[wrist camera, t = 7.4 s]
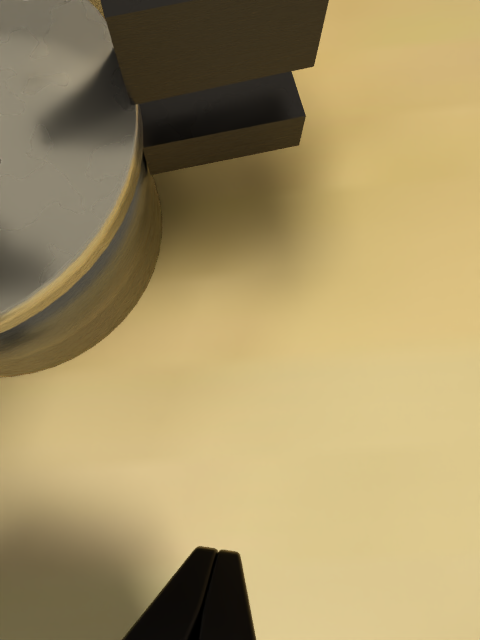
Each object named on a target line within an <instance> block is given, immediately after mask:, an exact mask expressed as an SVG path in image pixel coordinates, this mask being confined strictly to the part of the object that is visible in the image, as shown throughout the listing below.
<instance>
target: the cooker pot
mask: <svg viewBox="0 0 480 640" xmlns="http://www.w3.org/2000/svg"><path fill="white" fill-rule="evenodd" d="M139 106H140V111H141V117H142V123H143V155H142V163H141V171H140V175H139V179H138V182H137V186H136V190H135V193H134V197H133V199H132V202H131V204H130V206H129V209H128V211H127V213H126V215H125V218H124V220H123V222H122V224H121V226H120V227H119V229H118V231H117V232H116V234H115V236H114V237H113V239H112V240H111V242H110V244H109V245H108V247H107V248H106V249H105V251H104V252H103V253H102V254H101V256H100V257H99V258H98V259H97V261H96V262H95V263H94V265H93V266H92V267H91V268H90V270H89V271H87V272H86V273H85V274H84V275H83V276H82V277H81V278H80V279H79V280H78V281H77V282H76V283H75V284H74V285H73V286H72V287H71V288H70V289H69V290H68V291H67V292H66V293H64V294H63V295H62V296H60V297H59V298H58V299H57V300H55V301H54V302H53V303H51V304H50V305H49V306H47V307H46V308H45V309H44V310H42V311H40V312H39V313H37V314H35V315H34V316H32V317H30V318H29V319H27V320H25V321H24V322H22V323H20V324H19V325H17V326H15V327H13V328H11V329H9V330H7V331H4V332H2V333H0V377H12V376H18V375H24V374H30V373H35V372H38V371H42V370H45V369H48V368H52V367H55V366H57V365H59V364H61V363H64V362H66V361H68V360H71V359H73V358H75V357H77V356H78V355H80V354H82V353H83V352H85V351H87V350H88V349H90V348H92V347H93V346H95V345H96V344H97V343H98V342H100V341H101V340H102V339H104V338H105V337H106V336H108V335H109V334H110V333H111V332H112V331H113V330H114V329H115V328H116V327H117V326H118V325H119V324H120V323H121V322H122V321H123V320H124V319H125V318H126V317H127V315H128V314H129V313H130V312H131V310H132V309H133V308H134V307H135V305H136V304H137V302H138V301H139V299H140V297H141V296H142V294H143V292H144V291H145V289H146V288H147V285H148V283H149V281H150V278H151V276H152V274H153V272H154V269H155V266H156V262H157V259H158V255H159V251H160V244H161V238H162V214H161V207H160V200H159V196H158V193H157V190H156V186H155V183H154V179H153V176H152V175H153V174H158V173H163V172H168V171H173V170H178V169H183V168H188V167H193V166H198V165H203V164H208V163H213V162H218V161H223V160H228V159H233V158H238V157H243V156H248V155H253V154H258V153H263V152H268V151H273V150H277V149H282V148H287V147H292V146H297V145H299V142H300V138H301V134H302V130H303V125H304V121H305V117H306V115H305V112H304V109H303V106H302V103H301V100H300V97H299V94H298V91H297V87H296V84H295V81H294V78H293V75H292V72H291V71H290V72H285V73H281V74H276V75H271V76H267V77H262V78H257V79H253V80H248V81H243V82H239V83H234V84H229V85H225V86H220V87H215V88H211V89H206V90H201V91H197V92H192V93H187V94H183V95H178V96H173V97H169V98H164V99H159V100H155V101H150V102H146V103H141V104H139Z"/></svg>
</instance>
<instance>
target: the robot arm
mask: <svg viewBox="0 0 480 640" xmlns="http://www.w3.org/2000/svg"><path fill="white" fill-rule="evenodd" d="M122 640H256V636H255V631H254V626H253V620H252V615H251V610H250V605H249V599H248V594H247V589H246V583H245V578H244V573H243V568H242V562H241V557H240V554H239V553H238V552H235V551H228V550H220V551H219V552H218V551H217V549H215V548H209V547H202V546H199V547H197V548H196V549H195V550H194V551H193V552H192V553H191V554H190V556H189V557H188V558H187V559H186V561H185V562H184V563H183V564H182V566H181V567H180V568H179V569H178V571H177V572H176V573H175V574H174V576H173V577H172V578H171V579H170V581H169V582H168V583H167V584H166V586H165V587H164V588H163V589H162V591H161V592H160V593H159V594H158V596H157V597H156V598H155V599H154V601H153V602H152V603H151V604H150V606H149V607H148V608H147V609H146V611H145V612H144V613H143V614H142V616H141V617H140V618H139V619H138V621H137V622H136V623H135V624H134V626H133V627H132V628H131V629H130V631H129V632H128V633H127V634H126V636H125V637H124V638H123V639H122Z"/></svg>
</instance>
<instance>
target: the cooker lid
mask: <svg viewBox="0 0 480 640" xmlns="http://www.w3.org/2000/svg"><path fill="white" fill-rule="evenodd" d="M328 1H329V0H101V4H102V8H103V12H104V16H105V19H104V18H103V16H102V15H101V14H100V12H99V11H98V10H97V9H96V8H95V7H94V6H93V5H92V4H91V3H90V2H89V1H88V0H0V333H2V332H4V331H7V330H9V329H11V328H13V327H15V326H17V325H19V324H20V323H22V322H24V321H25V320H27V319H29V318H30V317H32V316H34V315H35V314H37V313H39V312H40V311H42V310H44V309H45V308H46V307H47V306H49V305H50V304H51V303H53V302H54V301H55V300H57V299H58V298H59V297H60V296H62V295H63V294H64V293H66V292H67V291H68V290H69V289H70V288H71V287H72V286H73V285H74V284H75V283H76V282H77V281H78V280H79V279H80V278H81V277H82V276H83V275H84V274H85V273H86V272H87V271H89V270H90V268H91V267H92V266H93V265H94V263H95V262H96V261H97V259H98V258H99V257H100V256H101V254H102V253H103V252H104V251H105V249H106V248H107V247H108V245H109V244H110V242H111V240H112V239H113V237H114V236H115V234H116V232H117V231H118V229H119V227H120V226H121V224H122V222H123V220H124V218H125V215H126V213H127V211H128V209H129V206H130V204H131V202H132V199H133V197H134V193H135V190H136V186H137V182H138V179H139V175H140V171H141V163H142V155H143V123H142V117H141V111H140V106H139V104H141V103H146V102H150V101H155V100H159V99H164V98H169V97H173V96H178V95H183V94H187V93H192V92H197V91H201V90H206V89H211V88H215V87H220V86H225V85H229V84H234V83H239V82H243V81H248V80H253V79H257V78H262V77H267V76H271V75H276V74H281V73H285V72H290V71H295V70H299V69H304V68H309V67H313V66H314V63H315V59H316V55H317V50H318V46H319V41H320V37H321V32H322V28H323V23H324V19H325V15H326V10H327V6H328Z"/></svg>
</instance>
